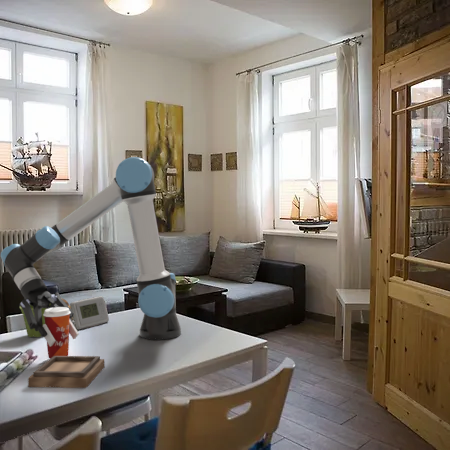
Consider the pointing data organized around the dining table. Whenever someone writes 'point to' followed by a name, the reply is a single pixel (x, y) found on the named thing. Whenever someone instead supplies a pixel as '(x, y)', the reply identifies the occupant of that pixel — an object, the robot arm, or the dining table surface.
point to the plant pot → (29, 331)
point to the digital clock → (89, 312)
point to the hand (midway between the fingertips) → (64, 339)
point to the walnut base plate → (67, 372)
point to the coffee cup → (58, 330)
